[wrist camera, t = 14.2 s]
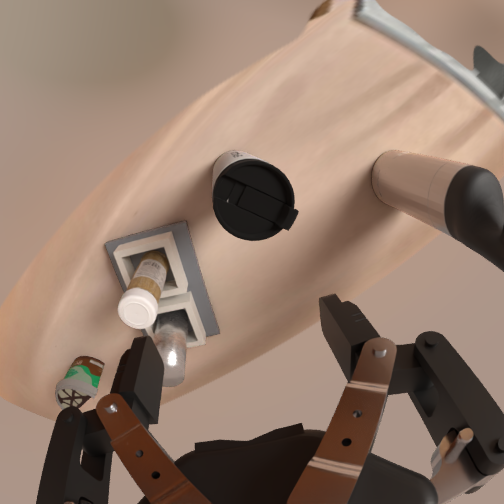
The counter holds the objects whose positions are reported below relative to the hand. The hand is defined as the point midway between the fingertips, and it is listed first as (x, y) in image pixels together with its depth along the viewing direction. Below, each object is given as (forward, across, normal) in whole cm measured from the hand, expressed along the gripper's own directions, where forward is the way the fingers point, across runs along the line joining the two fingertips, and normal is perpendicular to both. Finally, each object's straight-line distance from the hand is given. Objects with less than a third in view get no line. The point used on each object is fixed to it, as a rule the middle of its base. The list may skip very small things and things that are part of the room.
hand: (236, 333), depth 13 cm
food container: (+30, +36, +25) cm, 53 cm away
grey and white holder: (+30, +12, +12) cm, 35 cm away
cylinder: (+30, +12, +17) cm, 37 cm away
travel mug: (+30, -3, -3) cm, 31 cm away
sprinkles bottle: (+29, +12, +7) cm, 32 cm away
